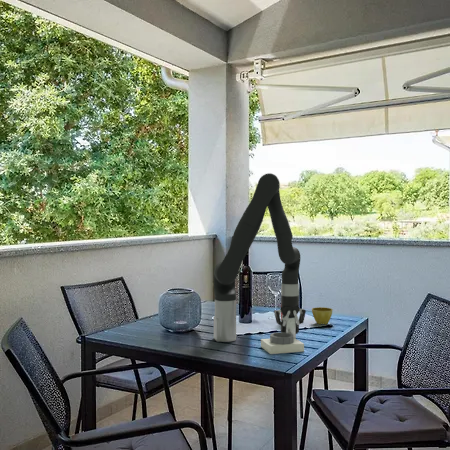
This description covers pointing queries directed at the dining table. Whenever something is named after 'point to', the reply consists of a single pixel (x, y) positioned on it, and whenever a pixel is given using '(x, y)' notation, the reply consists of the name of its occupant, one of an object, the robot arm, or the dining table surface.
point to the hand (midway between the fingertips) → (290, 333)
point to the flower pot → (322, 315)
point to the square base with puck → (282, 343)
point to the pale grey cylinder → (291, 326)
